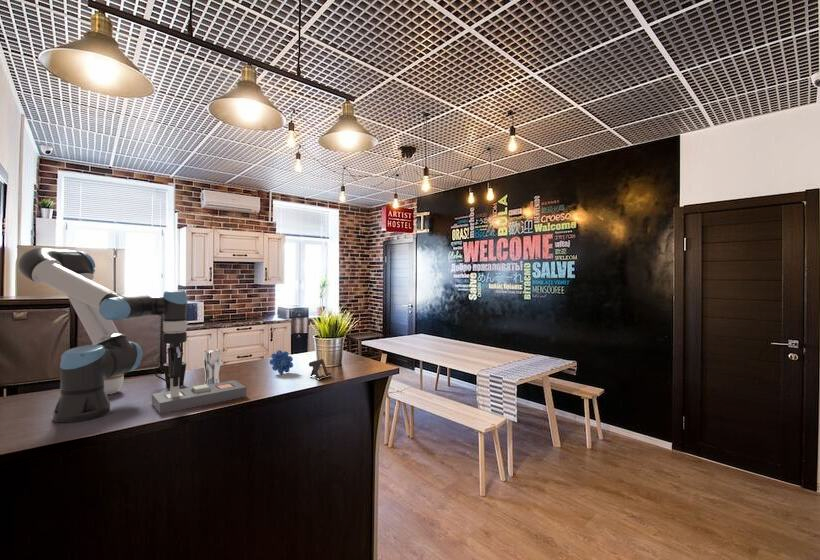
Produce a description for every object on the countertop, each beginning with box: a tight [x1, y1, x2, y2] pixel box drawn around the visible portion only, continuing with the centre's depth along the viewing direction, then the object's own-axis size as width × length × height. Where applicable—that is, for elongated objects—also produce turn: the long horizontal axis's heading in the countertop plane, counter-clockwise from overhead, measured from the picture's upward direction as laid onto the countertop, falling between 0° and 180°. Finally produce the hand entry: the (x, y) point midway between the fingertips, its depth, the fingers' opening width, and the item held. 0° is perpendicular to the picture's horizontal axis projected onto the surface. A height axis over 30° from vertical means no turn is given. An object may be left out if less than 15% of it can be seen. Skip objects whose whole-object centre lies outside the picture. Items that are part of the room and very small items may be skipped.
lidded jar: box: [104, 374, 125, 396], centre depth 157 cm, size 11×11×9 cm
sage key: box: [191, 384, 210, 394], centre depth 150 cm, size 5×5×3 cm
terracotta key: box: [217, 384, 234, 389], centre depth 156 cm, size 5×5×3 cm
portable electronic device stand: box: [308, 358, 332, 379], centre depth 186 cm, size 9×8×8 cm
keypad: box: [151, 379, 247, 415], centre depth 150 cm, size 30×14×4 cm, turn 134°
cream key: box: [165, 392, 184, 398], centre depth 143 cm, size 5×5×3 cm
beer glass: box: [203, 349, 222, 385], centre depth 173 cm, size 7×7×15 cm
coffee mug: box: [153, 361, 187, 389], centre depth 168 cm, size 12×9×10 cm
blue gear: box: [269, 349, 294, 374], centre depth 192 cm, size 12×7×12 cm, turn 121°
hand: (174, 394), depth 143 cm, fingers closed
